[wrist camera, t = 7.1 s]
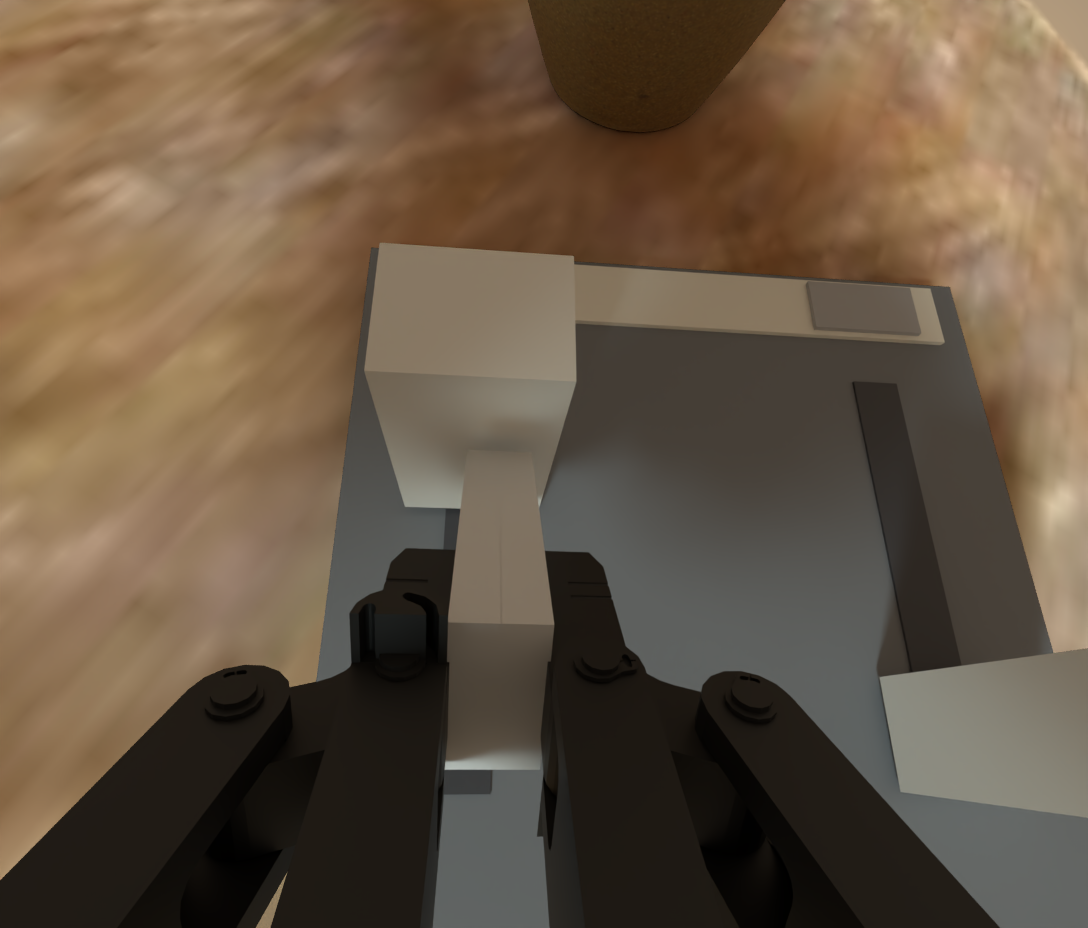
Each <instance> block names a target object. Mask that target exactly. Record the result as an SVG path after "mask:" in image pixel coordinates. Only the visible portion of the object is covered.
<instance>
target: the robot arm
mask: <svg viewBox="0 0 1088 928" xmlns="http://www.w3.org/2000/svg"><path fill="white" fill-rule="evenodd" d="M349 619H350V642H351V666H350V667H349V668H348V669H347V670H345V671H344V672H341V673H339V674H337V675H335V676H333V677H331V678H328V679H324V680H321V681H317V682H313V683H308V684H304V685H299V686H294V687H289V681H288V680H287V679H286V678H285V677H284V676H283V675H282V674H281V673H280V672H279V671H277V670H274V669H271V668H269V667H266V666H258V665H242V666H237V667H232V668H227V669H223V670H221V671H218V672H216V673H214V674H211V675H209V676H207V677H204V678H203V679H202V680H200V681H199V682H198V683H196V684H195V685H194V686H192V687H191V688H190V689H188V690H187V691H186V692H185V693H184V694H183V695H182V696H181V697H180V698H179V699H178V700H177V701H176V702H175V703H174V705H173V706H172V707H171V708H170V709H169V710H168V711H167V712H166V713H165V714H164V715H163V716H162V717H161V718H160V719H159V720H158V721H157V722H156V723H155V724H154V725H153V726H152V727H151V728H150V729H149V730H148V731H147V732H146V733H145V734H144V735H143V736H142V737H141V738H140V739H139V740H138V741H137V742H136V743H135V744H134V745H133V746H132V747H131V748H130V749H129V750H128V751H127V752H126V753H125V754H124V755H123V756H122V757H121V758H120V759H119V760H118V761H117V762H116V763H115V764H114V765H113V766H112V767H111V768H110V770H109V771H108V772H107V773H106V774H105V775H104V776H103V777H102V778H101V779H100V780H99V781H98V782H97V783H96V784H95V785H94V786H93V787H92V788H91V789H90V790H89V791H88V792H87V793H86V794H85V795H84V796H83V797H82V798H81V799H80V800H79V801H78V802H77V803H76V804H75V805H74V806H73V807H72V808H71V809H70V810H69V811H68V812H67V813H66V814H65V815H64V816H63V817H62V818H61V819H60V820H59V821H58V822H57V823H56V824H55V825H54V826H53V827H52V828H51V829H50V830H49V831H48V832H47V834H46V835H45V836H44V837H43V838H42V839H41V840H40V841H39V842H38V843H37V844H36V845H35V846H34V847H33V848H32V849H31V850H30V851H29V852H28V853H27V854H26V855H25V856H24V857H23V858H22V859H21V860H20V861H19V862H18V863H17V864H16V865H15V866H14V867H13V868H12V869H11V870H10V871H9V872H8V873H7V874H6V875H5V876H4V877H3V878H2V879H1V880H0V928H256V926H257V924H258V922H259V921H260V919H261V917H262V915H263V914H264V912H265V910H266V908H267V907H268V905H269V903H270V901H271V900H272V898H273V896H274V894H275V892H276V891H277V889H278V887H279V885H280V884H281V882H282V880H283V878H284V877H285V875H286V873H287V876H286V879H285V882H284V885H283V889H282V892H281V895H280V899H279V902H278V905H277V908H276V912H275V915H274V918H273V922H272V925H271V928H433V918H434V906H435V895H436V883H437V871H438V859H439V848H440V836H441V824H442V812H443V801H444V771H445V770H540V765H541V755H542V763H543V781H542V791H541V801H540V811H539V820H538V830H537V837H543V842H544V856H545V871H546V885H547V900H548V914H549V928H1000V927H999V926H998V925H997V924H996V922H995V921H994V920H993V919H992V918H991V917H990V916H989V915H988V914H987V913H986V911H985V910H984V909H983V908H982V907H981V906H980V905H979V904H978V903H977V901H976V900H975V899H974V898H973V897H972V896H971V895H970V894H969V893H968V892H967V890H966V889H965V888H964V887H963V886H962V885H961V884H960V883H959V882H958V880H957V879H956V878H955V877H954V876H953V875H952V874H951V873H950V872H949V871H948V869H947V868H946V867H945V866H944V865H943V864H942V863H941V862H940V861H939V859H938V858H937V857H936V856H935V855H934V854H933V853H932V852H931V851H930V850H929V848H928V847H927V846H926V845H925V844H924V843H923V842H922V841H921V840H920V838H919V837H918V836H917V835H916V834H915V833H914V832H913V831H912V830H911V829H910V827H909V826H908V825H907V824H906V823H905V822H904V821H903V820H902V819H901V817H900V816H899V815H898V814H897V813H896V812H895V811H894V810H893V809H892V808H891V806H890V805H889V804H888V803H887V802H886V801H885V800H884V799H883V798H882V796H881V795H880V794H879V793H878V792H877V791H876V790H875V789H874V788H873V787H872V785H871V784H870V783H869V782H868V781H867V780H866V779H865V778H864V777H863V775H862V774H861V773H860V772H859V771H858V770H857V769H856V768H855V767H854V766H853V764H852V763H851V762H850V761H849V760H848V759H847V758H846V757H845V756H844V754H843V753H842V752H841V751H840V750H839V749H838V748H837V747H836V746H835V744H834V743H833V742H832V741H831V740H830V739H829V738H828V737H827V736H826V735H825V733H824V732H823V731H822V730H821V729H820V728H819V727H818V726H817V725H816V723H815V722H814V721H813V720H812V719H811V718H810V717H809V716H808V715H807V714H806V712H805V711H804V710H803V709H802V708H801V707H800V706H799V705H798V704H797V702H796V701H795V700H794V699H793V698H792V697H791V696H790V695H789V694H788V693H787V692H785V691H784V690H783V689H782V688H781V687H779V686H778V685H777V684H775V683H773V682H771V681H769V680H767V679H765V678H763V677H761V676H759V675H755V674H751V673H747V672H743V671H723V672H720V673H717V674H715V675H712V676H710V677H709V678H708V679H707V681H706V682H705V683H704V684H703V685H702V690H701V692H700V691H696V690H692V689H688V688H684V687H680V686H676V685H672V684H669V683H666V682H663V681H660V680H658V679H656V678H655V677H653V676H651V675H649V674H647V673H646V669H645V667H644V665H643V663H642V662H641V660H640V658H639V657H638V655H636V654H635V653H634V652H632V651H631V650H630V649H629V648H627V647H626V645H625V642H624V638H623V634H622V631H621V627H620V624H619V620H618V617H617V613H616V610H615V606H614V603H613V600H612V596H611V592H610V588H609V586H608V581H607V578H606V574H605V571H604V567H603V566H602V565H601V564H600V563H599V562H598V561H597V560H596V559H595V558H594V557H593V556H592V555H591V554H590V553H589V552H565V551H545V550H544V542H543V535H542V527H541V520H540V512H539V505H538V497H537V489H536V482H535V474H534V467H533V459H532V453H530V452H509V451H487V450H467V457H466V465H465V474H464V483H463V492H462V500H461V509H460V518H459V526H458V535H457V544H456V550H449V549H419V548H405V549H404V550H403V551H402V552H401V553H400V554H399V555H398V556H397V557H396V558H395V559H393V560H392V561H391V563H390V566H389V570H388V573H387V577H386V582H385V584H384V587H383V590H381V591H378V592H375V593H371V594H369V595H368V596H366V597H364V598H363V599H361V600H360V601H358V602H357V603H356V604H355V606H354V607H353V609H352V610H351V611H350V613H349ZM287 871H288V872H287Z"/></svg>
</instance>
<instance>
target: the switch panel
mask: <svg viewBox="0 0 1088 928" xmlns="http://www.w3.org/2000/svg"><path fill="white" fill-rule="evenodd" d="M378 252H379V248H371V254H370V262H369V270H368V278H367V286H366V293H365V301H364V309H363V317H362V325H361V333H360V341H359V349H358V357H357V364H356V372H355V380H354V388H353V396H352V404H351V412H350V420H349V428H348V435H347V443H346V451H345V459H344V467H343V475H342V483H341V491H340V499H339V507H338V514H337V522H336V530H335V538H334V546H333V554H332V562H331V570H330V578H329V585H328V593H327V601H326V609H325V617H324V625H323V633H322V641H321V649H320V657H319V664H318V672H317V680H316V682H317V681H321V680H324V679H328V678H331V677H333V676H335V675H337V674H339V673H341V672H344V671H345V670H347V669H348V668H349V667H350V666H351V642H350V619H349V613H350V611H351V610H352V609H353V607H354V606H355V604H356V603H357V602H358V601H360V600H361V599H363V598H364V597H366V596H368V595H369V594H371V593H375V592H378V591H381V590H383V587H384V584H385V582H386V577H387V573H388V570H389V566H390V563H391V561H392V560H393V559H395V558H396V557H397V556H398V555H399V554H400V553H401V552H402V551H403V550H404V549H405V548H419V549H449V550H456V544H457V535H458V526H459V518H460V509H456V508H425V507H405V505H404V502H403V499H402V495H401V492H400V489H399V485H398V482H397V479H396V475H395V472H394V469H393V465H392V462H391V459H390V455H389V452H388V449H387V445H386V442H385V439H384V435H383V432H382V429H381V425H380V422H379V419H378V415H377V412H376V409H375V405H374V402H373V399H372V395H371V392H370V389H369V385H368V382H367V379H366V375H365V372H364V368H365V360H366V351H367V343H368V335H369V326H370V318H371V310H372V302H373V293H374V285H375V277H376V269H377V260H378ZM574 284H575V334H576V385H575V388H574V392H573V395H572V398H571V402H570V405H569V409H568V412H567V415H566V419H565V422H564V425H563V429H562V432H561V436H560V439H559V442H558V446H557V449H556V453H555V456H554V459H553V463H552V466H551V470H550V473H549V476H548V480H547V483H546V486H545V490H544V493H543V497H542V500H541V503H540V507H539V512H540V520H541V527H542V535H543V542H544V550H545V551H565V552H589V553H590V554H591V555H592V556H593V557H594V558H595V559H596V560H597V561H598V562H599V563H600V564H601V565H602V566H603V567H604V571H605V574H606V578H607V581H608V586H609V588H610V592H611V596H612V600H613V603H614V606H615V610H616V613H617V617H618V620H619V624H620V627H621V631H622V634H623V638H624V642H625V645H626V647H627V648H629V649H630V650H631V651H632V652H634V653H635V654H636V655H638V657H639V658H640V660H641V662H642V663H643V665H644V667H645V669H646V673H647V674H649V675H651V676H653V677H655V678H656V679H658V680H660V681H663V682H666V683H669V684H672V685H676V686H680V687H684V688H688V689H692V690H696V691H700V692H701V690H702V685H703V684H704V683H705V682H706V681H707V679H708V678H709V677H710V676H712V675H715V674H717V673H720V672H723V671H743V672H747V673H751V674H755V675H759V676H761V677H763V678H765V679H767V680H769V681H771V682H773V683H775V684H777V685H778V686H779V687H781V688H782V689H783V690H784V691H785V692H787V693H788V694H789V695H790V696H791V697H792V698H793V699H794V700H795V701H796V702H797V704H798V705H799V706H800V707H801V708H802V709H803V710H804V711H805V712H806V714H807V715H808V716H809V717H810V718H811V719H812V720H813V721H814V722H815V723H816V725H817V726H818V727H819V728H820V729H821V730H822V731H823V732H824V733H825V735H826V736H827V737H828V738H829V739H830V740H831V741H832V742H833V743H834V744H835V746H836V747H837V748H838V749H839V750H840V751H841V752H842V753H843V754H844V756H845V757H846V758H847V759H848V760H849V761H850V762H851V763H852V764H853V766H854V767H855V768H856V769H857V770H858V771H859V772H860V773H861V774H862V775H863V777H864V778H865V779H866V780H867V781H868V782H869V783H870V784H871V785H872V787H873V788H874V789H875V790H876V791H877V792H878V793H879V794H880V795H881V796H882V798H883V799H884V800H885V801H886V802H887V803H888V804H889V805H890V806H891V808H892V809H893V810H894V811H895V812H896V813H897V814H898V815H899V816H900V817H901V819H902V820H903V821H904V822H905V823H906V824H907V825H908V826H909V827H910V829H911V830H912V831H913V832H914V833H915V834H916V835H917V836H918V837H919V838H920V840H921V841H922V842H923V843H924V844H925V845H926V846H927V847H928V848H929V850H930V851H931V852H932V853H933V854H934V855H935V856H936V857H937V858H938V859H939V861H940V862H941V863H942V864H943V865H944V866H945V867H946V868H947V869H948V871H949V872H950V873H951V874H952V875H953V876H954V877H955V878H956V879H957V880H958V882H959V883H960V884H961V885H962V886H963V887H964V888H965V889H966V890H967V892H968V893H969V894H970V895H971V896H972V897H973V898H974V899H975V900H976V901H977V903H978V904H979V905H980V906H981V907H982V908H983V909H984V910H985V911H986V913H987V914H988V915H989V916H990V917H991V918H992V919H993V920H994V921H995V922H996V924H997V925H998V926H999V927H1000V928H1088V818H1086V817H1079V816H1071V815H1064V814H1057V813H1050V812H1042V811H1035V810H1028V809H1021V808H1013V807H1006V806H999V805H991V804H984V803H977V802H970V801H962V800H955V799H948V798H941V797H933V796H926V795H919V794H912V793H904V792H901V791H900V786H899V781H898V775H897V770H896V764H895V759H894V753H893V748H892V743H891V737H890V732H889V726H888V721H887V715H886V710H885V705H884V699H883V694H882V688H881V683H880V677H884V676H891V675H898V674H906V673H913V672H920V671H927V670H935V669H942V668H949V667H956V666H964V665H971V664H978V663H986V662H993V661H1000V660H1007V659H1015V658H1022V657H1029V656H1036V655H1044V654H1051V653H1053V650H1052V646H1051V643H1050V639H1049V636H1048V632H1047V629H1046V625H1045V622H1044V618H1043V614H1042V611H1041V607H1040V604H1039V600H1038V597H1037V593H1036V590H1035V586H1034V583H1033V579H1032V576H1031V572H1030V569H1029V565H1028V562H1027V558H1026V555H1025V551H1024V548H1023V544H1022V541H1021V537H1020V533H1019V530H1018V526H1017V523H1016V519H1015V516H1014V512H1013V509H1012V505H1011V502H1010V498H1009V495H1008V491H1007V488H1006V484H1005V481H1004V477H1003V474H1002V470H1001V467H1000V463H999V459H998V456H997V452H996V449H995V445H994V442H993V438H992V435H991V431H990V428H989V424H988V421H987V417H986V414H985V410H984V407H983V403H982V400H981V396H980V393H979V389H978V386H977V382H976V378H975V375H974V371H973V368H972V364H971V361H970V357H969V354H968V350H967V347H966V343H965V340H964V336H963V333H962V329H961V326H960V322H959V319H958V315H957V312H956V308H955V305H954V301H953V297H952V294H951V290H950V287H941V286H927V285H912V284H897V283H883V282H868V281H853V280H839V279H824V278H809V277H795V276H780V275H765V274H751V273H736V272H721V271H707V270H692V269H677V268H663V267H648V266H633V265H619V264H604V263H590V262H575V261H574ZM542 781H543V763H542V755H541V765H540V770H445V771H444V801H443V812H442V824H441V836H440V848H439V859H438V871H437V883H436V895H435V906H434V918H433V928H549V914H548V900H547V885H546V871H545V856H544V842H543V837H537V830H538V820H539V811H540V801H541V791H542Z"/></svg>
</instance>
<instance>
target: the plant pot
mask: <svg viewBox="0 0 1088 928" xmlns="http://www.w3.org/2000/svg"><path fill="white" fill-rule="evenodd" d="M528 2H529V6H530V11H531V15H532V18H533V22H534V26H535V29H536V33H537V36H538V40H539V44H540V47H541V51H542V55H543V58H544V62H545V65H546V68H547V71H548V74H549V78H550V81H551V83H552V85H553V87H554V89H555V91H556V92H557V94H558V95H559V97H560V98H561V99H562V100H563V101H564V102H565V103H566V104H567V105H568V106H569V107H570V108H571V109H573V110H574V111H575V112H577V113H578V114H580V115H581V116H583V117H585V118H586V119H589V120H591V121H593V122H595V123H597V124H599V125H602V126H605V127H608V128H612V129H617V130H622V131H633V132H648V131H656V130H661V129H665V128H669V127H672V126H674V125H677V124H679V123H681V122H682V121H684V120H686V119H687V118H689V117H690V116H691V115H692V114H693V113H694V112H695V111H696V110H697V109H698V108H699V107H700V106H701V105H702V104H703V102H704V101H705V100H706V99H707V98H708V97H709V96H710V94H711V93H712V92H713V91H714V90H715V89H716V87H717V86H718V85H719V84H720V83H721V82H722V81H723V79H724V78H725V77H726V76H727V75H728V73H729V72H730V71H731V70H732V69H733V67H734V66H735V65H736V64H737V63H738V61H739V60H740V59H741V58H742V56H743V55H744V54H745V53H746V51H747V50H748V49H749V47H750V46H751V45H752V44H753V42H754V41H755V40H756V38H757V37H758V36H759V35H760V33H761V32H762V31H763V30H764V28H765V27H766V26H767V24H768V23H769V22H770V20H771V19H772V18H773V16H774V15H775V14H776V12H777V11H778V10H779V8H780V7H781V6H782V4H783V3H784V2H785V0H528Z"/></svg>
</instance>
